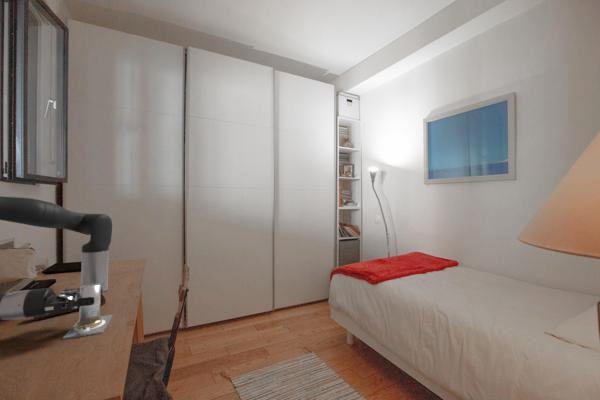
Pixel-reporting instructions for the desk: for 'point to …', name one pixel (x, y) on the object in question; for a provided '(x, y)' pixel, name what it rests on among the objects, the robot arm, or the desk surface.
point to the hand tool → (102, 302)
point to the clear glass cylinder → (90, 306)
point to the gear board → (88, 329)
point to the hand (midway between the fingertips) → (98, 296)
